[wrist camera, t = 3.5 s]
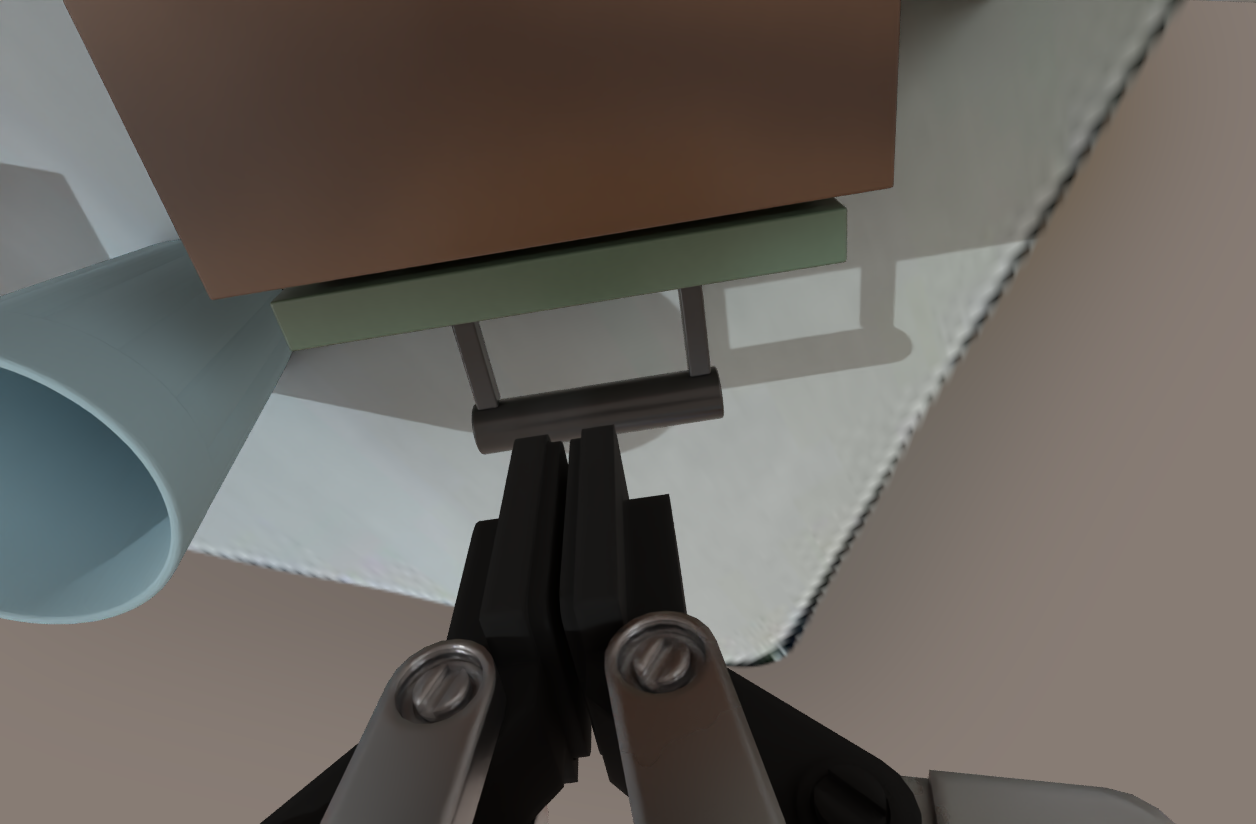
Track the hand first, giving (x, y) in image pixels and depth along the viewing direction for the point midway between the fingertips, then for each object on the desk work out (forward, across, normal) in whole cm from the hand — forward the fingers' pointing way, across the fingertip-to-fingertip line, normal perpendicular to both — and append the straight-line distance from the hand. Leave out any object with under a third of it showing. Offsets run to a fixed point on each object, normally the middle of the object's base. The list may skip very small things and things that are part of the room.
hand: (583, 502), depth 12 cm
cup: (+14, +13, 0) cm, 19 cm away
